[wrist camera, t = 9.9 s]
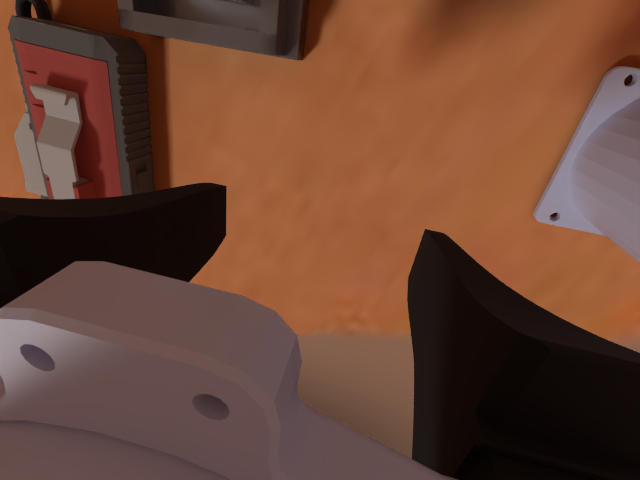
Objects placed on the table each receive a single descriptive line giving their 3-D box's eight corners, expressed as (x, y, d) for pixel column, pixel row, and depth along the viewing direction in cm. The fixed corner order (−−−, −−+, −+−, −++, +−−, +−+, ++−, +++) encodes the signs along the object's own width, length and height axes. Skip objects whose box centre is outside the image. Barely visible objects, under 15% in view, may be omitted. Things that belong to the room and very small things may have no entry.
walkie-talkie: (11, -13, 19) (72, 265, 29) (-83, -32, 15) (24, 295, 25) (150, 19, 19) (164, 291, 29) (89, 8, 15) (130, 327, 25)
